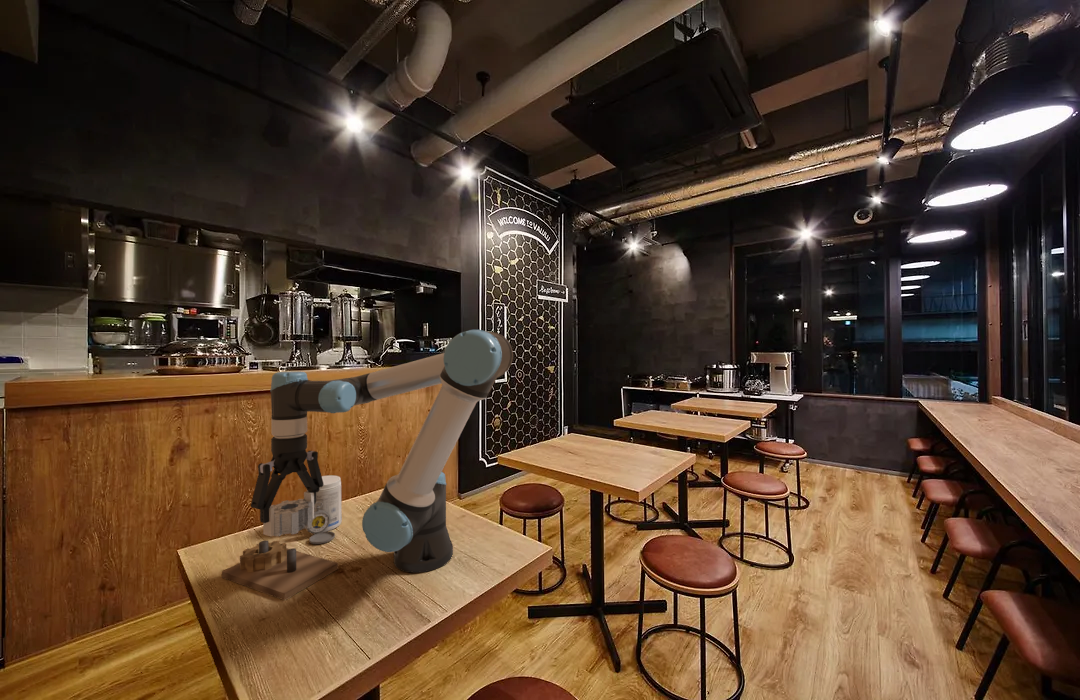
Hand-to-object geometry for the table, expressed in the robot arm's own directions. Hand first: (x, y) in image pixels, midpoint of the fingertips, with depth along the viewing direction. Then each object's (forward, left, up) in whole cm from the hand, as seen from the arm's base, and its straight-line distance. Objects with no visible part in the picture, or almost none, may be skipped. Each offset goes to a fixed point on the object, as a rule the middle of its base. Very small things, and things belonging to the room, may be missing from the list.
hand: (289, 525), depth 101 cm
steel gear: (0, 0, 0) cm, 0 cm away
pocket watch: (+11, -17, -13) cm, 24 cm away
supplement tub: (+17, -23, -13) cm, 31 cm away
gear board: (+4, 0, -13) cm, 13 cm away
